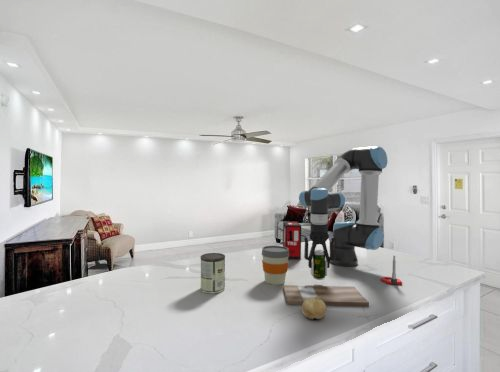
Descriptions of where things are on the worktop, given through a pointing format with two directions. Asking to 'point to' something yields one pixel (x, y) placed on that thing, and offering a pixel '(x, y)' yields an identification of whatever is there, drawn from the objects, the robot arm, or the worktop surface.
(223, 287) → the coffee can
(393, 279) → the tow hook
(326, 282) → the worktop surface
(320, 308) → the onion
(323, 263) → the beer can
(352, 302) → the walnut board
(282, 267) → the reusable coffee cup
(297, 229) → the cleaning product box
